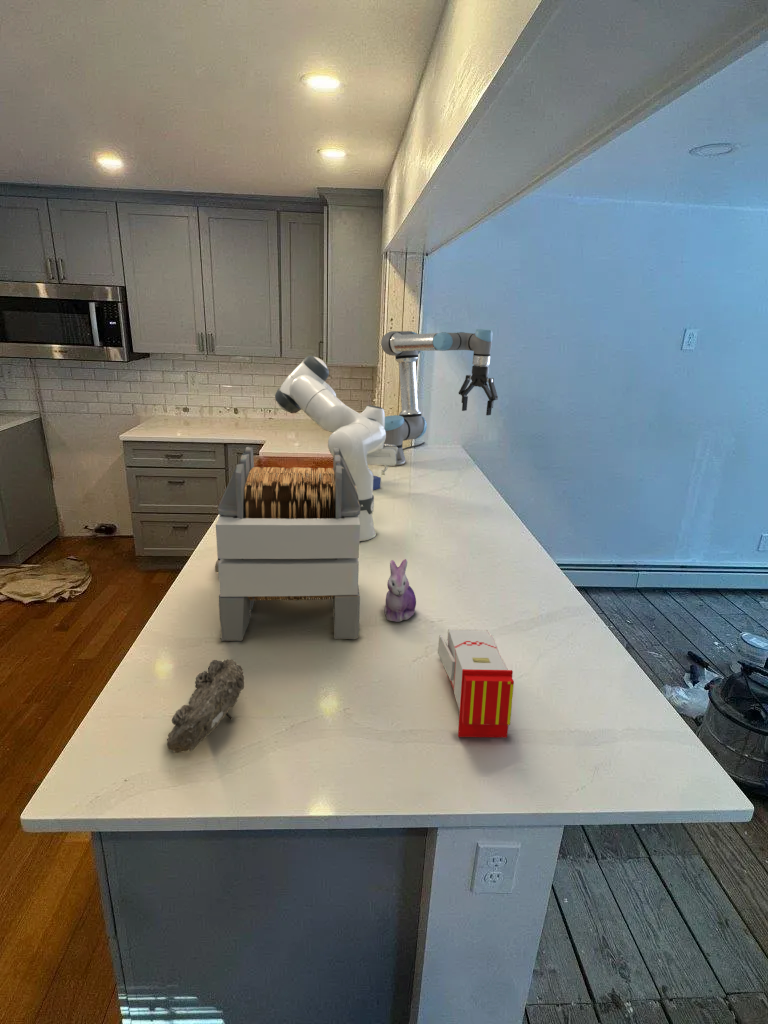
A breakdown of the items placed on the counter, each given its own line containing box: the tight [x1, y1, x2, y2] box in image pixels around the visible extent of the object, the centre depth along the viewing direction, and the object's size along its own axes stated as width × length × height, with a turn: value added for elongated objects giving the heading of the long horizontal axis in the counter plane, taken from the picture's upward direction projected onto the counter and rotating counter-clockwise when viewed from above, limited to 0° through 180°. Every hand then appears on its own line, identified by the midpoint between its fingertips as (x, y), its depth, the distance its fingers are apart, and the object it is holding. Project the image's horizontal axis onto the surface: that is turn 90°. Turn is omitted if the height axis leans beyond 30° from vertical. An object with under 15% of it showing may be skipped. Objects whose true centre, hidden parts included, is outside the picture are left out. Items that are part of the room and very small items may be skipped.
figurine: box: [384, 558, 417, 623], centre depth 145 cm, size 9×10×15 cm
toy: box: [437, 628, 515, 738], centre depth 117 cm, size 12×13×30 cm
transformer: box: [215, 446, 361, 642], centre depth 142 cm, size 34×33×41 cm
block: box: [373, 474, 382, 491], centre depth 248 cm, size 5×5×5 cm
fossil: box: [166, 658, 245, 754], centre depth 106 cm, size 22×10×15 cm
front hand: (372, 474), depth 247 cm, fingers open, 8 cm apart
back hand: (476, 412), depth 261 cm, fingers open, 13 cm apart
